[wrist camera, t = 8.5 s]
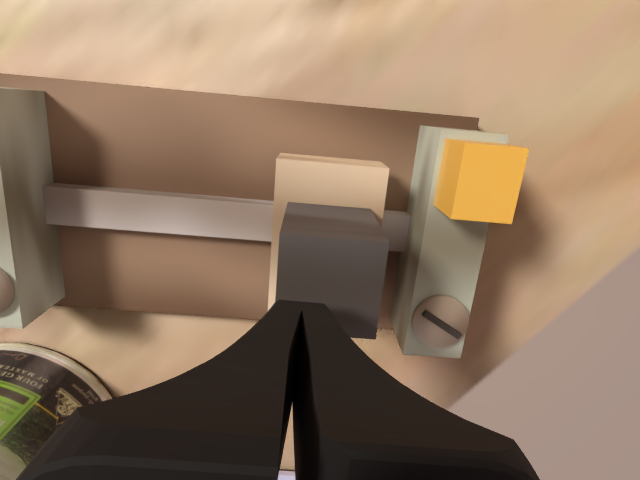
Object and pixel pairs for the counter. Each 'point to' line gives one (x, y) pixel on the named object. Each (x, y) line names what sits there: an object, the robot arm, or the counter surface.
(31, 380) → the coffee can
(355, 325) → the carriage
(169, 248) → the rail board
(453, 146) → the button
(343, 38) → the counter surface
